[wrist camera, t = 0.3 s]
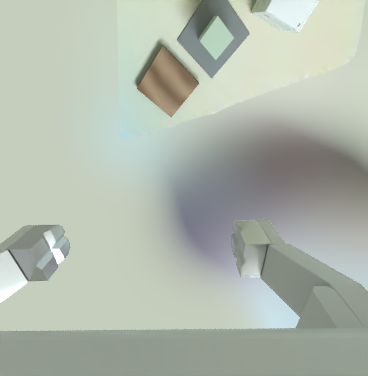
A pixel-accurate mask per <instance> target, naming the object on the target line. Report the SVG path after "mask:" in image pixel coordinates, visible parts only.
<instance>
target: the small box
mask: <svg viewBox="0 0 368 376" xmlns="http://www.w3.org/2000/svg"><path fill="white" fill-rule="evenodd" d="M318 2H319V0H256V2H255V4H254V6H253V9H252V11H251V13H252V14H254V15H255V16H257V17H259V18H260V19H262V20H263V21H265V22H266V23H268V24H270V25H271V26H273V27H274V28H276V29H277V30H280V31H287V32H295V33H299V31H300V29H301V28H302V26H303V25H304V23H305V22H306V20H307V19H308V17H309V16H310V14H311V12H312V11H313V9H314V8H315V6H316V5H317V3H318Z"/></svg>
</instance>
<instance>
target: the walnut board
mask: <svg viewBox="0 0 368 376" xmlns="http://www.w3.org/2000/svg"><path fill="white" fill-rule="evenodd" d="M198 84H199V82H198V81H197V80H196V79H195V78H194V77H193V76H192V75H191V74H190V73H189V72H188V71H187V70H186V69H185V68H184V67H183V66H182V65H181V63H180V62H179V61H178V60H177V59H176V58H175V57H174V56H173V55H172V54H171V53H170V52H169V51H168V50H167V49H166V48H165V47H164V46H162V48H161V50H160V51H159V53H158V55H157V56H156V58H155V60H154V61H153V63H152V64H151V66H150V68H149V69H148V71H147V73H146V74H145V76H144V78H143V79H142V81H141V83H140V84H139V86H138V88H137V89H138V90H139V91H140V92H141V93H143V94H144V95H145V96H146V97H147V98H149V99H150V100H151V101H152V102H153V103H155V104H156V105H157V106H158V107H159V108H161V109H162V110H163V111H164V112H165V113H167V114H168V115H169V116H170V117H172V116H173V115H174V114H175V112H176V111H177V110H178V109H179V107H180V106H181V105H182V104H183V103H184V101H185V100H186V99H187V98H188V96H189V95H190V94H191V93H192V92H193V90H194V89H195V88H196V87H197V85H198Z"/></svg>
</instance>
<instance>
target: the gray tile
mask: <svg viewBox="0 0 368 376" xmlns="http://www.w3.org/2000/svg"><path fill="white" fill-rule="evenodd" d="M214 16H218V17H219V18H220V19H221V21H222V22H223V23H224V25H225V26H226V28H227V29H228V30H229V32H230V33H231V34H232V36H233V37H234V39H233V40H232V41H231V42H230V44H229V45H228V46H227V47H226V49H225V50H224V51H223V52H222V54H221V55H220V56H219V57H218V58H217V60H215V59H214V58H213V56H212V55H211V54H210V53H209V52H208V50H207V49H206V48H205V47H204V46H203V44H202V43H201V42H200V41H199V39H198V38H199V37H200V35H201V34H202V32H203V31H204V29H205V28H206V27H207V25H208V24H209V22H210V21H211V19H212V18H213V17H214ZM249 34H250V33H249V32H248V30H247V29H246V27H245V26H244V25H243V23H242V22H241V20H240V19H239V17H238V16H237V14H236V13H235V11H234V10H233V8H232V7H231V5H230V4H229V2H228V1H227V0H203V1H202V3H201V4H200V6H199V7H198V9H197V11H196V12H195V14H194V15H193V17H192V18H191V20H190V22H189V23H188V25H187V26H186V28H185V29H184V31H183V32H182V34H181V36H180V37H179V39H178V40H177V41H178V42H179V43H180V44H181V45H182V46H183V47H184V48H185V49H186V51H187V52H188V53H189V54H190V55H191V56H192V57H193V58H194V59H195V61H196V62H197V63H198V64H199V65H200V66H201V67H202V68H203V69H204V70H205V72H206V73H207V74H208V75H209V76H210V77H211V78H213V76H214V75H215V74H216V73H217V72H218V70H219V69H220V68H221V67H222V66H223V65H224V63H225V62H226V61H227V60H228V59H229V57H230V56H231V55H232V54H233V53H234V52H235V50H236V49H237V48H238V47H239V46H240V44H241V43H242V42H243V41H244V40H245V39H246V37H247V36H248V35H249Z"/></svg>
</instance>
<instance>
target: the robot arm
mask: <svg viewBox="0 0 368 376" xmlns="http://www.w3.org/2000/svg"><path fill="white" fill-rule="evenodd" d="M233 231H234V233H233V235H232V237H231V245H232V251H233V255H234V256H235V257H236V258H237V263H236V264H237V268H238V271H239V274H240V277H261V279H262V280H263V281H264V282H265V283H266V284H267V285H268V286H269V287H270V288H271V289H272V290H273V291H274V292H275V293H276V294H277V295H278V296H279V297H280V298H281V299H282V300H283V301H284V302H285V303H286V304H287V305H289V307H290V308H291V309H292V310H293V311H294V312H295V313H296V314H297V315H298V316H299V317H300V319H299V322H298V324H297V326H296V328H289V329H286V328H285V329H193V330H192V329H184V330H95V331H94V330H88V331H87V330H85V331H0V376H368V291H367V290H366V289H365V288H364V287H363V286H362V285H361V284H359V283H357V282H356V281H353V280H352V279H350V278H349V277H347V276H345V275H343V274H342V273H340V272H338V271H336V270H335V269H333V268H331V267H329V266H327V265H326V264H324V263H322V262H320V261H319V260H317V259H315V258H313V257H311V256H310V255H308V254H306V253H305V252H303V251H301V250H299V249H297V248H296V247H294V246H292V245H290V244H286V243H285V242H284V241H283V239H282V238H281V236H280V235H279V234H278V232H277V231H276V230H275V228H274V227H273V225H272V224H271V223H270V222H269V220H267V219H259V220H241V221H234V222H233ZM64 233H65V231H64V229H63V227H62V226H60V225H28V226H24V227H22V228H21V229H20V230H18V231H17V232H16V233H14V234H13V235H12V236H10V237H9V238H8V239H6V240H5V241H4V242H2V243H1V244H0V303H1V302H2V301H4V300H5V299H6V298H8V297H9V296H10V295H12V294H13V293H14V292H16V291H17V290H18V289H20V288H21V287H23V286H24V285H25V284H27V283H28V281H45V280H48V279H49V278H50V277H51V275H52V274H53V273H54V272H55V271H56V269H57V268H58V263H59V262H61V261H62V260H64V259H65V258H66V256H67V255H68V253H69V249H70V243H69V240H68V239H67V238H66V237H65V236H63V235H64Z"/></svg>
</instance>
